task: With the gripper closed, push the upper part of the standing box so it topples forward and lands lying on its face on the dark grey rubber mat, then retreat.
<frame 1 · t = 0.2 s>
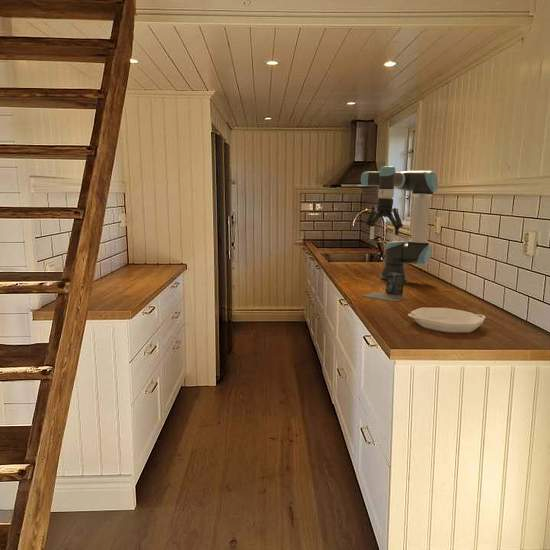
hand: (382, 240, 243), 27 cm above the table, fingers open, 13 cm apart
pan: (445, 326, 189), on the table
box: (393, 294, 247), on the table, touching mat
mat: (385, 297, 239), on the table
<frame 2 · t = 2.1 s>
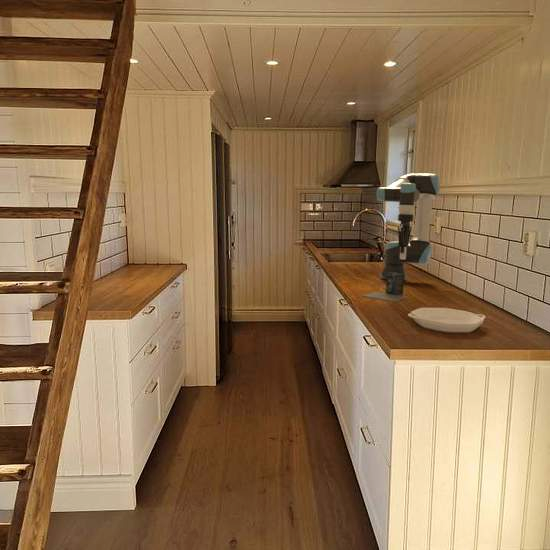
hand: (402, 259, 250), 17 cm above the table, fingers closed
nothing on the table moved.
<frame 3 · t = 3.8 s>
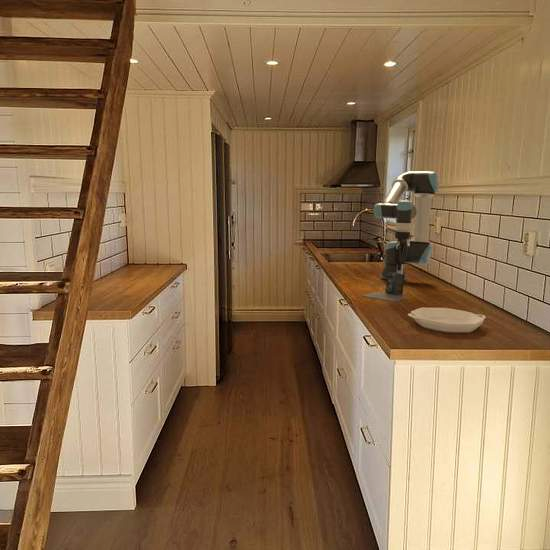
hand: (399, 276, 250), 9 cm above the table, fingers closed
box: (393, 294, 247), on the table, touching gripper, mat
everything else where it was.
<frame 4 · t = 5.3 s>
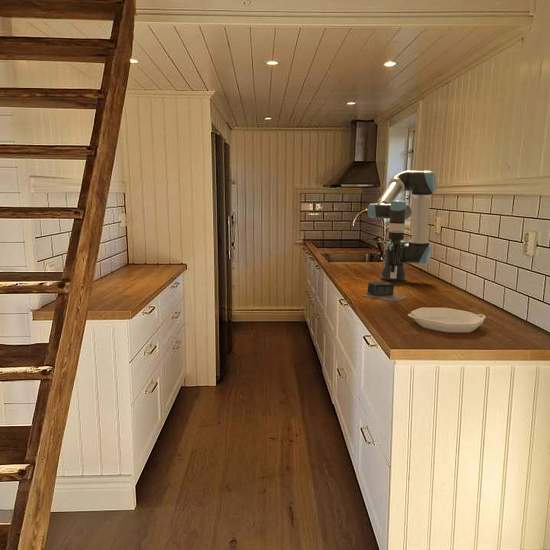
hand: (393, 278, 244), 9 cm above the table, fingers closed
box: (390, 288, 246), point 3 cm above the table, touching mat
everything else where it was.
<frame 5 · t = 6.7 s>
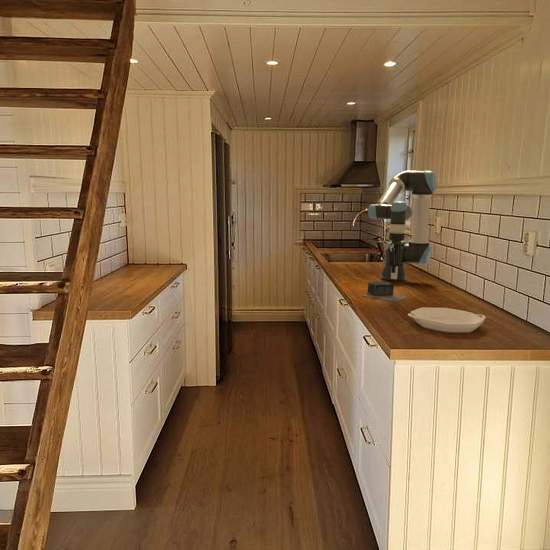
hand: (393, 278, 245), 8 cm above the table, fingers closed
nothing on the table moved.
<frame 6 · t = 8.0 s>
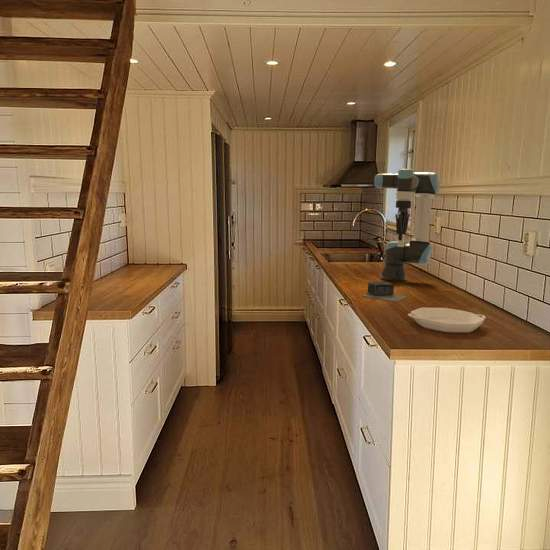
hand: (400, 246, 246), 24 cm above the table, fingers closed
nothing on the table moved.
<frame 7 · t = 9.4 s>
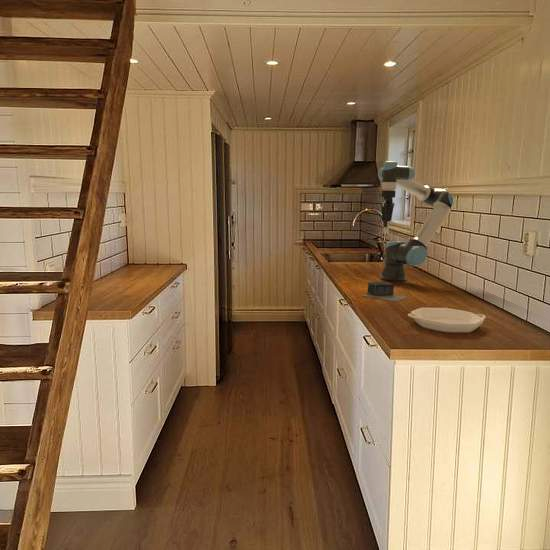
hand: (385, 233, 268), 29 cm above the table, fingers closed
nothing on the table moved.
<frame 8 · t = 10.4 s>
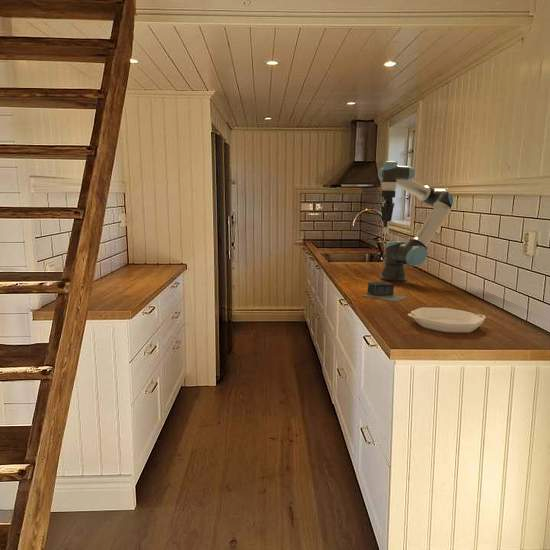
hand: (385, 233, 268), 29 cm above the table, fingers closed
nothing on the table moved.
at the end: box tilted 89°; box inside the target area on the mat (6.9 cm from its centre), point 3.0 cm above the mat's base; the gripper is holding nothing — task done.
